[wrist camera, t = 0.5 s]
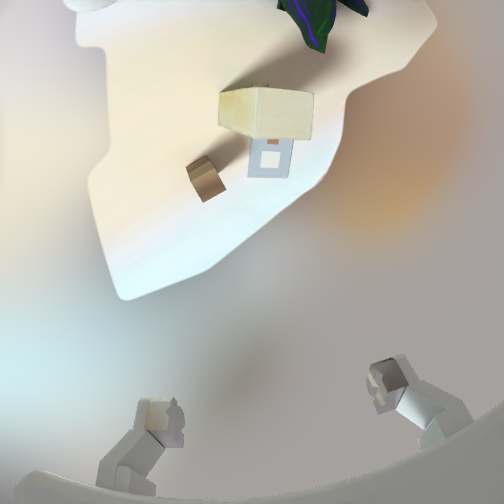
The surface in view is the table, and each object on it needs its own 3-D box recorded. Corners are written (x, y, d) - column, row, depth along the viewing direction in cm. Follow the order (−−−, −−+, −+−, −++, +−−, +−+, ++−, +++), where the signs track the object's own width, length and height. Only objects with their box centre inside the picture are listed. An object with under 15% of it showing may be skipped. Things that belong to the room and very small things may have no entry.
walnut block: (185, 167, 51) (190, 181, 44) (206, 155, 51) (214, 167, 44) (196, 185, 54) (203, 202, 47) (216, 174, 54) (226, 189, 47)
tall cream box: (260, 89, 47) (315, 87, 30) (258, 125, 51) (311, 142, 34) (218, 88, 45) (254, 81, 28) (217, 125, 48) (252, 140, 31)
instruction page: (253, 119, 50) (254, 120, 50) (295, 124, 53) (295, 124, 52) (247, 177, 56) (247, 177, 56) (287, 177, 59) (287, 178, 59)
